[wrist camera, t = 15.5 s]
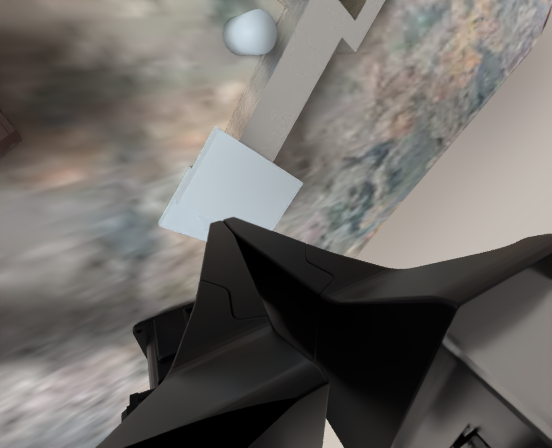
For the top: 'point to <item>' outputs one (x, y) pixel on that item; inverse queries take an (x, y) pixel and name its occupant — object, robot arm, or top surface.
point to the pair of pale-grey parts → (233, 160)
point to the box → (7, 135)
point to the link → (296, 67)
